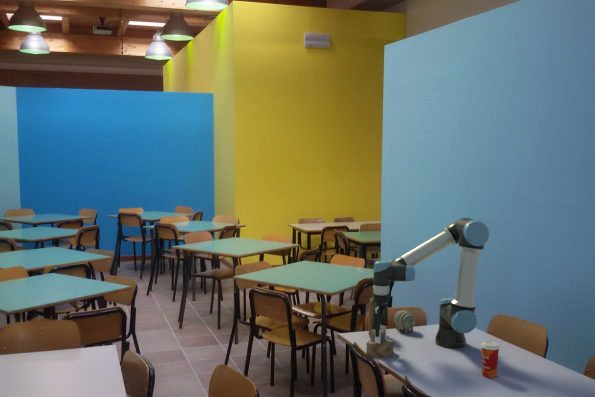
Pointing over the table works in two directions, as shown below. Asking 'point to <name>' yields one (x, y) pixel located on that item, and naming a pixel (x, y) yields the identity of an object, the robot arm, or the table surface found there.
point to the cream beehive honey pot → (404, 320)
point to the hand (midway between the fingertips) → (380, 340)
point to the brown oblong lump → (371, 314)
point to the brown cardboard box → (380, 348)
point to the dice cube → (381, 335)
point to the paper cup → (489, 359)
